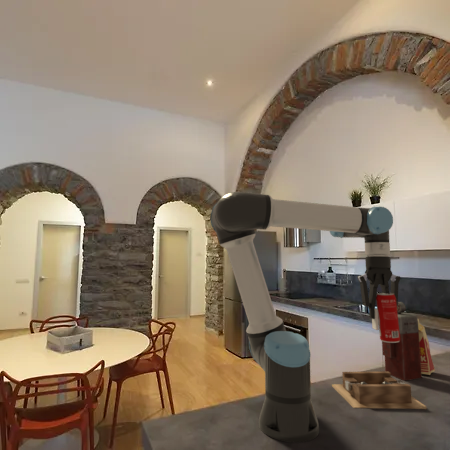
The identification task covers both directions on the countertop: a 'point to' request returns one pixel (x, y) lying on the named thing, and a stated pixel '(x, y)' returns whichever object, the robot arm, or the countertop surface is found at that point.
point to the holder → (377, 391)
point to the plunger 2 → (391, 383)
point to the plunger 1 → (349, 385)
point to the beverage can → (388, 318)
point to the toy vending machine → (404, 348)
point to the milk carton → (425, 352)
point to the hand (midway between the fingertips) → (381, 329)
